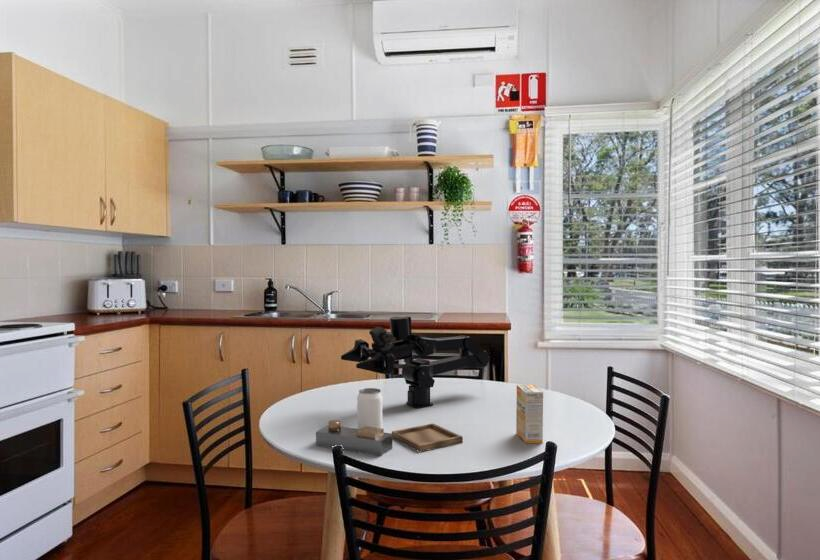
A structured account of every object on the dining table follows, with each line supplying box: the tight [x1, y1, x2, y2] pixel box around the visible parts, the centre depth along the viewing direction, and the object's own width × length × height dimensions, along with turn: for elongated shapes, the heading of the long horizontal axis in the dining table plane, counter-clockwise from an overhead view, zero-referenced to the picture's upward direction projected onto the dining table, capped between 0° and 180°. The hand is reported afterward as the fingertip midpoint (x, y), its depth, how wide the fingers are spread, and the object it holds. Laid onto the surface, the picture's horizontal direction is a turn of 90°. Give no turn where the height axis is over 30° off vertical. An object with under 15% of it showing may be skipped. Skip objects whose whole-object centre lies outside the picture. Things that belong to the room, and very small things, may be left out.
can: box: [356, 387, 383, 429], centre depth 138 cm, size 6×6×12 cm
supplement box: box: [515, 384, 544, 444], centre depth 137 cm, size 8×5×13 cm, turn 5°
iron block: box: [315, 419, 393, 457], centre depth 130 cm, size 18×6×6 cm, turn 67°
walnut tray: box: [391, 423, 464, 453], centre depth 136 cm, size 13×13×2 cm
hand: (348, 361), depth 155 cm, fingers open, 9 cm apart
